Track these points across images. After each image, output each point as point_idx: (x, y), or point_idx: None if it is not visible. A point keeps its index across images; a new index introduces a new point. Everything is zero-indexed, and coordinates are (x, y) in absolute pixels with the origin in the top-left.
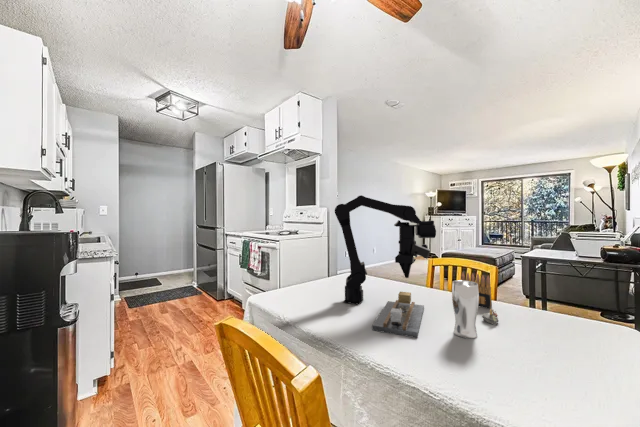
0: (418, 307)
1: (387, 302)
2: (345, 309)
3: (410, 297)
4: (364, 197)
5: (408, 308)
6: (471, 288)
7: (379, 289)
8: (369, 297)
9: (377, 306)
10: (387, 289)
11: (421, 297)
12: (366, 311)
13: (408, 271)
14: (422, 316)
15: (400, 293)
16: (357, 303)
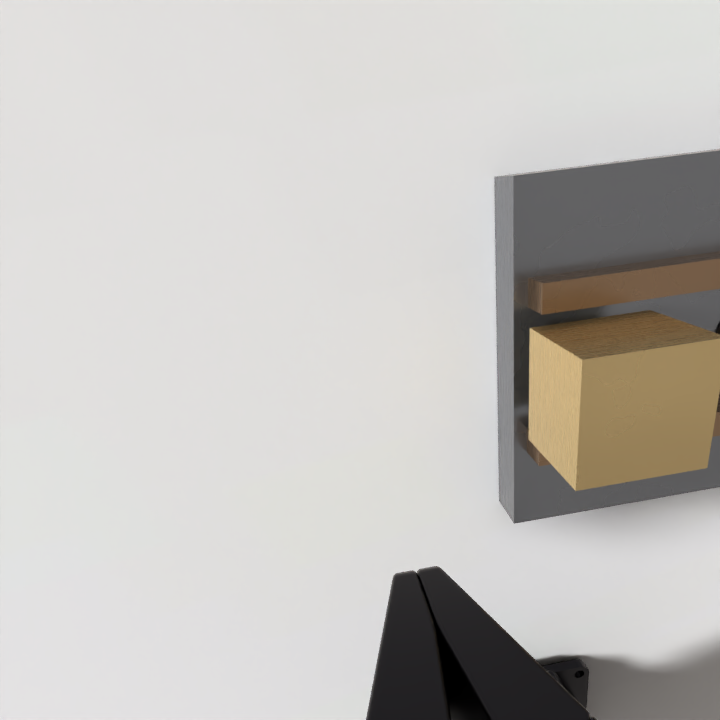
0: (602, 220)
1: (553, 514)
2: (694, 673)
3: (626, 334)
4: None
5: (665, 304)
6: None
7: (67, 717)
8: (365, 677)
9: (563, 550)
10: (8, 670)
11: (50, 298)
12: (696, 565)
13: (560, 700)
14: (702, 151)
15: (663, 460)
16: (588, 672)
